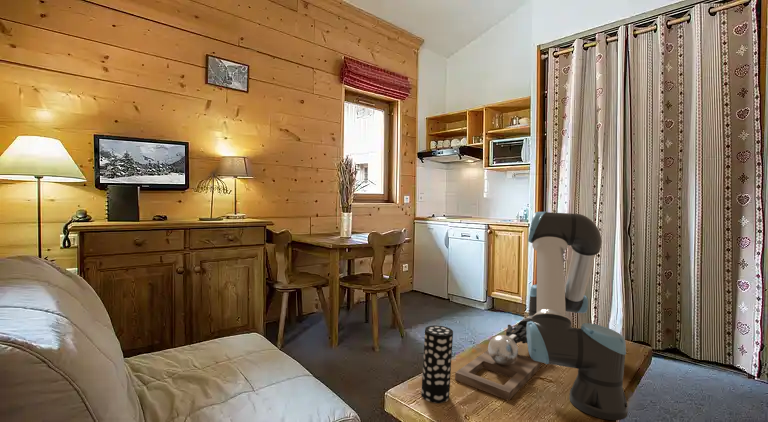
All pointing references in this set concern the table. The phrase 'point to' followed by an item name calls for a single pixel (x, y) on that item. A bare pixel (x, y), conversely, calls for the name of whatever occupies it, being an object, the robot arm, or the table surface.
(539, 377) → the table surface
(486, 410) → the table surface
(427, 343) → the white-spotted black cylinder
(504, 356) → the steel ball
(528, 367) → the brown wooden frame
